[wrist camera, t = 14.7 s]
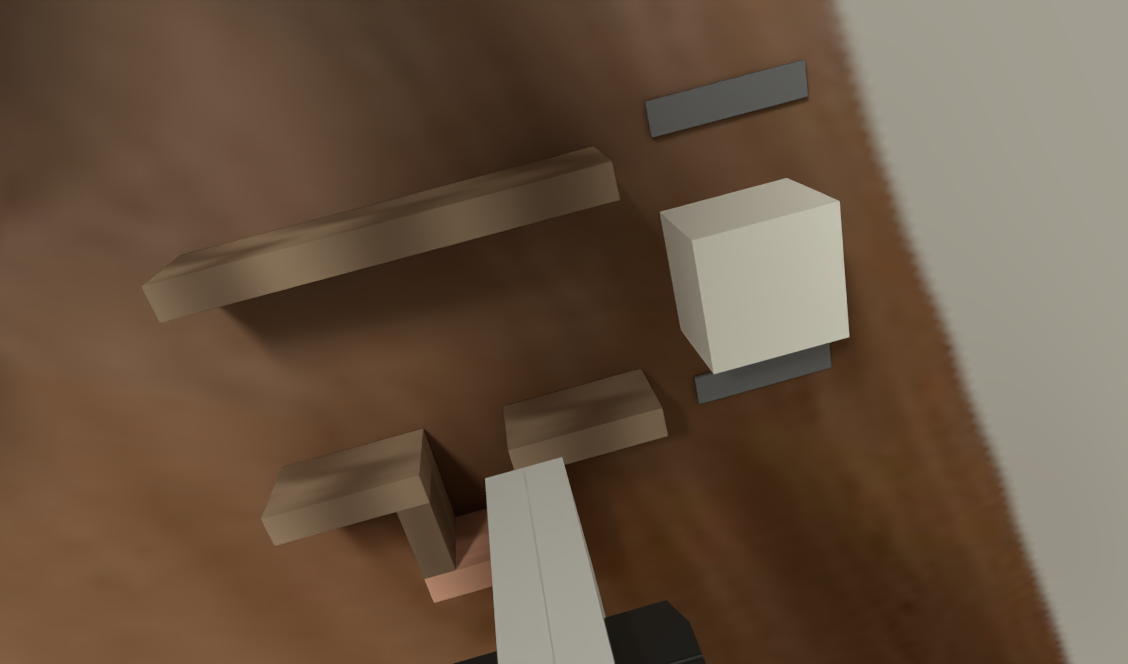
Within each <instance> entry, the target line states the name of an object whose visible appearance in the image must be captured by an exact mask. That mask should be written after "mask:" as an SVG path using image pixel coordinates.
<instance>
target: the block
mask: <svg viewBox="0 0 1128 664" xmlns="http://www.w3.org/2000/svg"><path fill="white" fill-rule="evenodd" d="M660 217H661V223H662V228H663V234H664V240H665V245H666V251H667V256H668V262H669V267H670V273H671V278H672V284H673V290H674V295H675V301H676V306H677V312H678V317H679V323H680V329H681V331H682V332H683V334H684V335H685V336H686V338H687V339H688V340H689V342H690V343H691V345H692V346H693V347H694V349H695V350H696V351H697V353H698V354H699V355H700V357H701V358H702V359H703V361H704V362H705V363H706V365H707V366H708V367H709V369H710V370H711V371H712V373H713V374H717V373H720V372H724V371H728V370H731V369H735V368H739V367H742V366H746V365H750V364H753V363H757V362H760V361H764V360H768V359H771V358H775V357H779V356H782V355H786V354H790V353H793V352H797V351H800V350H804V349H808V348H811V347H815V346H819V345H822V344H826V343H830V342H833V341H837V340H841V339H844V338H848V337H849V325H848V311H847V297H846V283H845V269H844V256H843V242H842V228H841V214H840V201H838V200H836V199H834V198H831V197H829V196H827V195H825V194H822V193H820V192H818V191H815V190H813V189H811V188H809V187H806V186H804V185H802V184H800V183H797V182H795V181H793V180H790V179H788V178H785V179H781V180H777V181H773V182H770V183H766V184H762V185H758V186H755V187H751V188H747V189H743V190H740V191H736V192H732V193H728V194H725V195H721V196H717V197H713V198H710V199H706V200H702V201H698V202H695V203H691V204H687V205H683V206H680V207H676V208H672V209H668V210H665V211H661V212H660Z"/></svg>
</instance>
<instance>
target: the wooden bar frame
mask: <svg viewBox="0 0 1128 664" xmlns="http://www.w3.org/2000/svg"><path fill="white" fill-rule="evenodd" d="M618 200H620V198H619V193H618V188H617V183H616V178H615V173H614V168H613V163H612V161H611V160H610V159H608V158H607V157H606V156H605V155H604V154H603V153H601V152H600V151H599V150H598V149H597V148H595V147H594V146H592V147H588V148H585V149H581V150H577V151H573V152H569V153H566V154H562V155H558V156H554V157H551V158H547V159H543V160H539V161H535V162H532V163H528V164H524V165H520V166H516V167H513V168H509V169H505V170H501V171H498V172H494V173H490V174H486V175H482V176H479V177H475V178H471V179H467V180H463V181H460V182H456V183H452V184H448V185H445V186H441V187H437V188H433V189H429V190H426V191H422V192H418V193H414V194H411V195H407V196H403V197H399V198H395V199H392V200H388V201H384V202H380V203H376V204H373V205H369V206H365V207H361V208H358V209H354V210H350V211H346V212H342V213H339V214H335V215H331V216H327V217H323V218H320V219H316V220H312V221H308V222H305V223H301V224H297V225H293V226H289V227H286V228H282V229H278V230H274V231H271V232H267V233H263V234H259V235H255V236H252V237H248V238H244V239H240V240H236V241H233V242H229V243H225V244H221V245H218V246H214V247H210V248H206V249H202V250H199V251H195V252H191V253H187V254H183V255H180V256H179V257H177V258H176V259H175V260H174V261H172V262H171V263H170V264H169V265H167V266H166V267H165V268H164V269H162V270H161V271H160V272H159V273H158V274H156V275H155V276H154V277H153V278H151V279H150V280H149V281H148V282H146V283H145V284H144V285H143V286H141V287H142V289H143V291H144V293H145V295H146V297H147V299H148V300H149V302H150V304H151V306H152V308H153V310H154V312H155V314H156V316H157V318H158V320H159V322H160V323H161V322H165V321H169V320H172V319H176V318H180V317H184V316H187V315H191V314H195V313H199V312H202V311H206V310H210V309H214V308H217V307H221V306H225V305H229V304H232V303H236V302H240V301H243V300H247V299H251V298H255V297H258V296H262V295H266V294H270V293H273V292H277V291H281V290H285V289H288V288H292V287H296V286H300V285H303V284H307V283H311V282H315V281H318V280H322V279H326V278H330V277H333V276H337V275H341V274H345V273H348V272H352V271H356V270H360V269H363V268H367V267H371V266H374V265H378V264H382V263H386V262H389V261H393V260H397V259H401V258H404V257H408V256H412V255H416V254H419V253H423V252H427V251H431V250H434V249H438V248H442V247H446V246H449V245H453V244H457V243H461V242H464V241H468V240H472V239H476V238H479V237H483V236H487V235H491V234H494V233H498V232H502V231H505V230H509V229H513V228H517V227H520V226H524V225H528V224H532V223H535V222H539V221H543V220H547V219H550V218H554V217H558V216H562V215H565V214H569V213H573V212H577V211H580V210H584V209H588V208H592V207H595V206H599V205H603V204H607V203H610V202H614V201H618ZM503 412H504V421H505V429H506V437H507V446H508V452H509V455H510V458H511V461H512V464H513V468H514V470H517V469H521V468H524V467H528V466H532V465H535V464H539V463H542V462H546V461H550V460H553V459H557V458H560V457H562V458H563V462H564V465H566V464H570V463H573V462H577V461H580V460H584V459H588V458H591V457H595V456H598V455H602V454H606V453H609V452H613V451H616V450H620V449H623V448H627V447H631V446H634V445H638V444H641V443H645V442H649V441H652V440H656V439H659V438H663V437H666V436H668V433H667V428H666V423H665V418H664V414H663V409H662V406H661V404H660V403H659V401H658V399H657V397H656V395H655V393H654V392H653V390H652V388H651V386H650V384H649V382H648V381H647V379H646V377H645V375H644V373H643V371H642V370H641V369H637V370H634V371H630V372H627V373H623V374H619V375H616V376H612V377H608V378H605V379H601V380H598V381H594V382H590V383H587V384H583V385H579V386H576V387H572V388H568V389H565V390H561V391H558V392H554V393H550V394H547V395H543V396H539V397H536V398H532V399H529V400H525V401H521V402H518V403H514V404H510V405H507V406H503ZM394 512H397V514H398V517H399V519H400V522H401V524H402V526H403V529H404V531H405V534H406V536H407V538H408V541H409V543H410V546H411V548H412V551H413V553H414V555H415V558H416V560H417V563H418V565H419V568H420V570H421V572H422V575H423V577H424V580H425V582H426V584H427V587H428V589H429V592H430V594H431V597H432V599H433V601H434V603H435V602H439V601H442V600H446V599H449V598H453V597H456V596H460V595H463V594H467V593H470V592H474V591H478V590H481V589H485V588H488V587H492V586H493V585H492V570H491V556H490V542H489V528H488V513H487V508H486V509H482V510H479V511H475V512H472V513H468V514H465V515H461V516H457V517H456V516H455V513H454V511H453V508H452V505H451V502H450V500H449V497H448V494H447V492H446V489H445V486H444V484H443V481H442V478H441V476H440V473H439V470H438V467H437V465H436V462H435V459H434V457H433V454H432V451H431V449H430V446H429V443H428V440H427V438H426V435H425V432H424V430H423V429H420V430H416V431H412V432H409V433H405V434H402V435H398V436H394V437H391V438H387V439H383V440H380V441H376V442H373V443H369V444H365V445H362V446H358V447H354V448H351V449H347V450H343V451H340V452H336V453H333V454H329V455H325V456H322V457H318V458H314V459H311V460H307V461H304V462H300V463H296V464H293V465H289V466H285V467H282V469H281V471H280V474H279V476H278V479H277V481H276V484H275V486H274V489H273V491H272V493H271V496H270V498H269V501H268V503H267V506H266V508H265V511H264V513H263V516H262V518H261V520H262V522H263V524H264V526H265V528H266V530H267V532H268V534H269V536H270V538H271V540H272V541H273V543H274V545H275V546H276V545H280V544H283V543H287V542H290V541H294V540H297V539H301V538H305V537H308V536H312V535H315V534H319V533H323V532H326V531H330V530H333V529H337V528H340V527H344V526H348V525H351V524H355V523H358V522H362V521H366V520H369V519H373V518H376V517H380V516H383V515H387V514H391V513H394Z"/></svg>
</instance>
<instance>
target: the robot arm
mask: <svg viewBox="0 0 1128 664" xmlns="http://www.w3.org/2000/svg"><path fill="white" fill-rule="evenodd" d="M485 485H486V499H487V513H488V528H489V542H490V556H491V570H492V585H493V599H494V613H495V628H496V642H497V651H496V652H492V653H489V654H485V655H482V656H478V657H475V658H471V659H468V660H464V661H461V662H457V663H454V664H706V663H705V660H704V659H703V656H702V653H701V650H700V648H699V645H698V642H697V640H696V637H695V635H694V632H693V630H692V627H691V625H690V622H689V621H688V620H687V619H685V618H684V617H683V616H682V615H681V614H680V613H679V612H678V611H677V610H676V609H675V608H674V607H673V606H672V605H671V604H670V603H669V602H668V601H667V600H665V601H662V602H659V603H655V604H652V605H648V606H645V607H641V608H638V609H634V610H631V611H627V612H624V613H620V614H617V615H613V616H610V617H605V613H604V609H603V605H602V601H601V597H600V594H599V590H598V586H597V582H596V578H595V574H594V570H593V566H592V563H591V559H590V555H589V552H588V548H587V545H586V541H585V537H584V534H583V530H582V527H581V523H580V519H579V516H578V512H577V509H576V505H575V501H574V498H573V494H572V491H571V487H570V483H569V480H568V476H567V473H566V469H565V465H564V462H563V458H562V457H560V458H557V459H553V460H550V461H546V462H542V463H539V464H535V465H532V466H528V467H524V468H521V469H517V470H514V471H510V472H506V473H503V474H499V475H496V476H492V477H489V478H485Z"/></svg>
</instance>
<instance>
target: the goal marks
mask: <svg viewBox="0 0 1128 664" xmlns="http://www.w3.org/2000/svg"><path fill="white" fill-rule="evenodd" d="M804 97H808V89H807V78H806V66H805V60H801V61H797V62H793V63H790V64H786V65H782V66H778V67H774V68H771V69H767V70H763V71H759V72H755V73H752V74H748V75H744V76H740V77H736V78H732V79H729V80H725V81H721V82H717V83H713V84H710V85H706V86H702V87H698V88H694V89H691V90H687V91H683V92H679V93H675V94H672V95H668V96H664V97H660V98H656V99H653V100H649V101H645V107H646V113H647V118H648V124H649V129H650V135H651V137H652V138H653V137H657V136H660V135H664V134H668V133H672V132H675V131H679V130H683V129H687V128H691V127H694V126H698V125H702V124H706V123H709V122H713V121H717V120H721V119H725V118H728V117H732V116H736V115H740V114H743V113H747V112H751V111H755V110H759V109H762V108H766V107H770V106H774V105H778V104H781V103H785V102H789V101H793V100H796V99H800V98H804ZM828 368H832V366H831V355H830V343H826V344H822V345H819V346H815V347H811V348H808V349H804V350H800V351H797V352H793V353H790V354H786V355H782V356H779V357H775V358H771V359H768V360H764V361H760V362H757V363H753V364H750V365H746V366H742V367H739V368H735V369H731V370H728V371H724V372H720V373H717V374H713V373H712V372H710V373H706V374H703V375H699V376H695V377H694V381H695V387H696V392H697V398H698V403H699V404H702V403H706V402H709V401H713V400H717V399H720V398H724V397H727V396H731V395H735V394H738V393H742V392H745V391H749V390H752V389H756V388H760V387H763V386H767V385H770V384H774V383H778V382H781V381H785V380H788V379H792V378H796V377H799V376H803V375H806V374H810V373H814V372H817V371H821V370H824V369H828Z"/></svg>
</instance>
